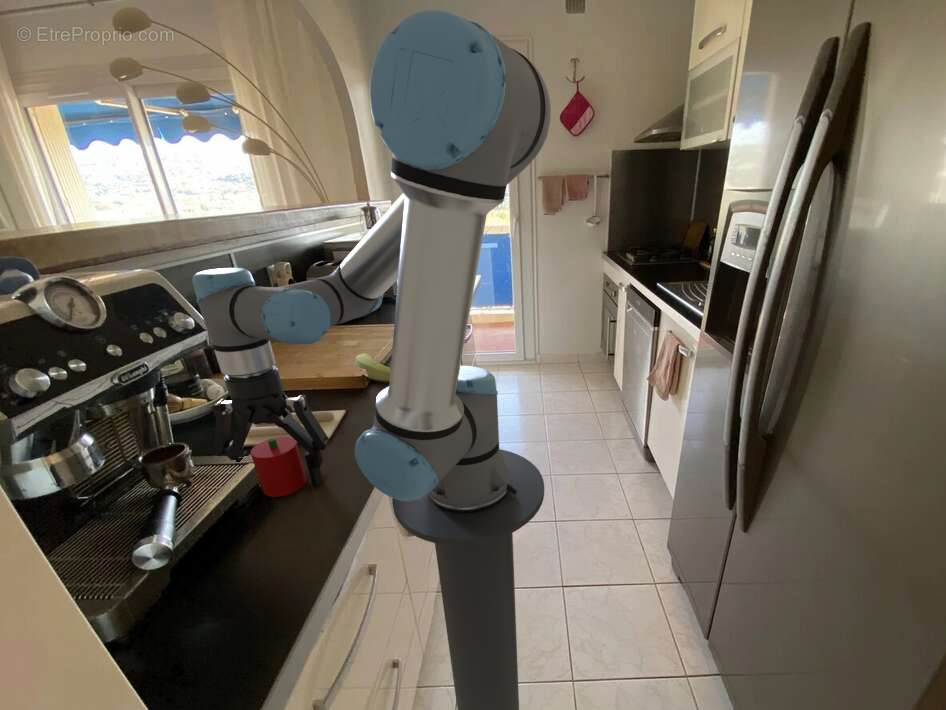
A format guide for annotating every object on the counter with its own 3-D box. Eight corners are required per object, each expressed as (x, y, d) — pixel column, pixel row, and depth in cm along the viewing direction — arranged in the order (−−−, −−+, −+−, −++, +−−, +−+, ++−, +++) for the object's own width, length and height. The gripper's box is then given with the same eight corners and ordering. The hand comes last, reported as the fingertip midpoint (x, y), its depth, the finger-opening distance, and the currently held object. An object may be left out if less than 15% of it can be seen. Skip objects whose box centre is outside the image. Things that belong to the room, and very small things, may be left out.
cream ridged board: (346, 411, 107) (344, 402, 106) (328, 441, 94) (325, 431, 93) (258, 416, 105) (255, 407, 104) (228, 447, 92) (224, 437, 91)
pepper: (312, 472, 84) (300, 428, 80) (298, 495, 78) (284, 449, 73) (273, 475, 83) (259, 431, 79) (256, 498, 77) (240, 452, 73)
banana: (351, 361, 117) (358, 347, 135) (349, 381, 118) (356, 364, 136) (405, 369, 121) (405, 354, 139) (402, 388, 122) (402, 371, 141)
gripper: (332, 358, 75) (356, 467, 85) (186, 364, 73) (227, 476, 83) (317, 375, 68) (345, 491, 78) (157, 382, 66) (205, 501, 76)
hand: (284, 483), depth 80 cm, fingers open, 11 cm apart
